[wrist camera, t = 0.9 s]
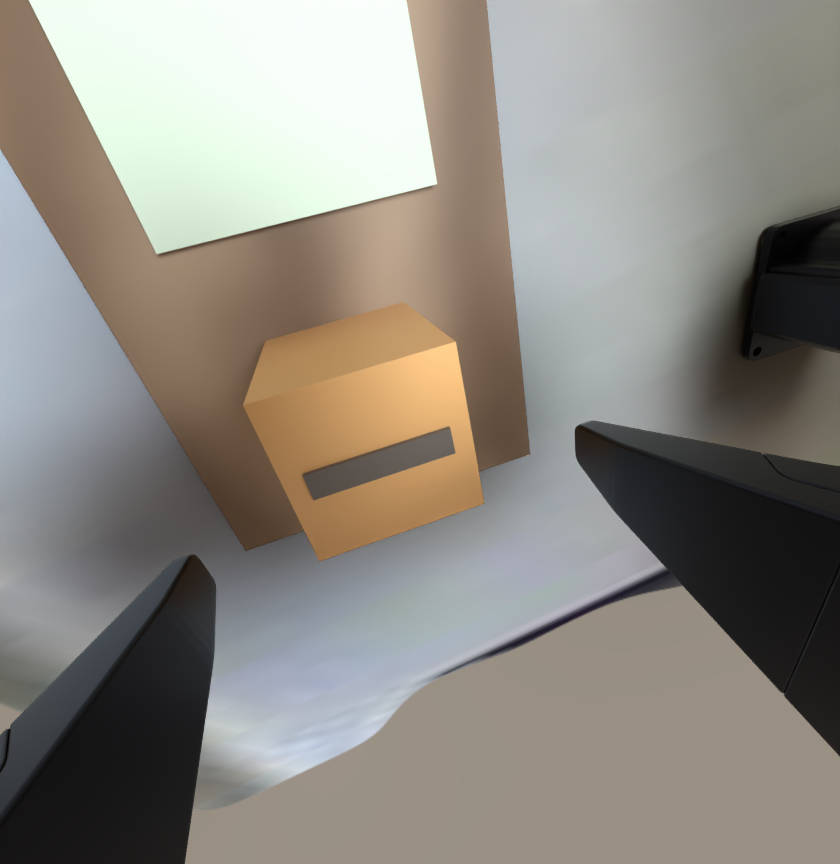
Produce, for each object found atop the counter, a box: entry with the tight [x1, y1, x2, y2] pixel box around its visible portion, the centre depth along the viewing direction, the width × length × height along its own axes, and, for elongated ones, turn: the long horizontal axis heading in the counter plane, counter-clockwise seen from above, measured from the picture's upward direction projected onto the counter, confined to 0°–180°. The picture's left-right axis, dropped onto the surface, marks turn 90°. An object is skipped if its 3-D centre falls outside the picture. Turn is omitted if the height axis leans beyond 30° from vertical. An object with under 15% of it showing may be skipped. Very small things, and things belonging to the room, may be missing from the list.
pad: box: [29, 0, 437, 254], centre depth 11 cm, size 9×9×1 cm
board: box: [0, 0, 530, 551], centre depth 14 cm, size 14×22×1 cm, turn 13°
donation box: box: [243, 302, 485, 561], centre depth 13 cm, size 5×5×6 cm
